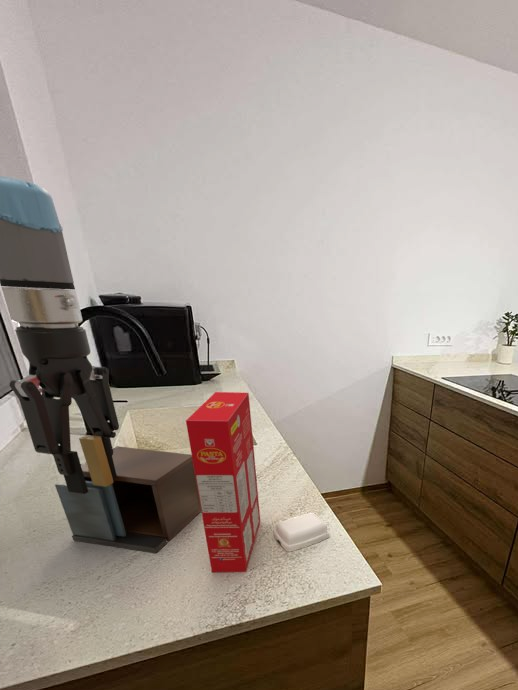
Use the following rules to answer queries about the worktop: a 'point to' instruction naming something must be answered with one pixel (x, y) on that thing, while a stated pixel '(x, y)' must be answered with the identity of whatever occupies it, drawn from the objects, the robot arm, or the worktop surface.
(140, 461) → the cabinet
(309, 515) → the soap
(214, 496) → the food packaging
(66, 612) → the worktop surface
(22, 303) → the robot arm
